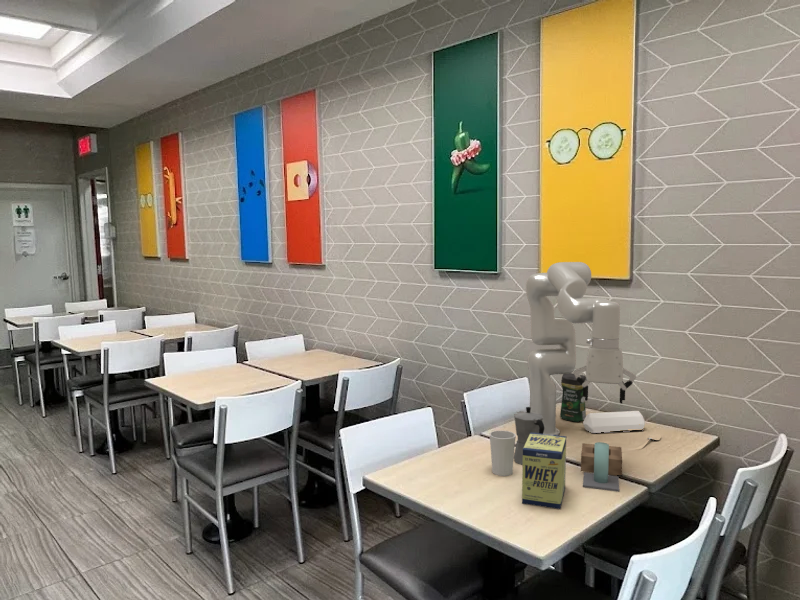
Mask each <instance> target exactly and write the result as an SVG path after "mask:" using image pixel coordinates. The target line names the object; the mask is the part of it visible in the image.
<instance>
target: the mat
mask: <svg viewBox="0 0 800 600" xmlns="http://www.w3.org/2000/svg"><path fill="white" fill-rule="evenodd" d="M619 477H620V476H616V475H608V482H607V483H598V482H595V481H594V473H590V472H583V477H582V480H583V481H582V488H587V489H594V490H595V489H596V490H602V491H603V490H604V491H611V492H612V491H613V492H620V479H619Z"/></svg>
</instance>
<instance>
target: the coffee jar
mask: <svg viewBox="0 0 800 600" xmlns="http://www.w3.org/2000/svg"><path fill="white" fill-rule="evenodd" d="M561 375H562V376H561V382H560V384H561V388H562V397H561V406H560V415H559V417H560V418H561V419H562V420H565V421H570V422H575V423H576V422H577V423H579V421H582V422H583V420H584V419H585V418H586V416H587V411H586V401H585V397H583V387H582V385H581V384H580V383H579V382H578V381H577V379H576V377H575V375H574V373H573V372H572V373H569V374H561ZM580 377H581V378H582V379H583V380H585V379H586V375H583V374H580Z"/></svg>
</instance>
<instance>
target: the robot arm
mask: <svg viewBox="0 0 800 600" xmlns="http://www.w3.org/2000/svg"><path fill="white" fill-rule="evenodd" d="M591 270H592V269H590V267H589V265H588V264H586V263H585V262H582V261H563V262H562V261H560V262H556V263H552V264H551V265H550V266H549V267H548V269H547V272H539V273H533V274H531V275H529V276H528V277H527V279H526V283H525V293H526V297H527V300H528V304H529V308H530V337H531V340H532V343H533V344H534V345H537V346H558V347H559V348H538V349H535V350H531V351H530V352H529V354H528V356H527V366H528V373H529V374H528V375H529V376H528V377H529V407H531V410H530V412H533V413H537V414H541V415H542V417H543V420H542V422H543V424H544V427H545V428H544V433H543V434H550V435H559V436H560V434H561V431H560V429H559V428H557V427H556V425H557V424H556V422H557V421H556V419H557V418H556V417H557V416H556V415H557V413H556V412H557V386H556V384H555V382H554V380H552V378H551V376H553V375H555V376H556V375H563V374H569V373H572V374H574V375H575V377H576V379H577V381H578V382H579V383H580V384H581V385H582V387H583V397H585V402H586V401H588V399H589V384H590V383H594V384H595V383H596V384H610V385H618V386H619V387H620V388H619V403H620V405H621V404H622V405H623V401H625V400H626V390H627V389H628V388H630V387H631V386H632V385H633V383H634V382H635V380H636V378H637V375H636V374H635V373H634V372H631V371H630V370H627V369H626V368H624V357H623V351H622V348H620V325H621V323H620V322H621V321H620V320H621V306H620V304H619V303H618V302H617V301H611V300H609V299H608V298H605V297H589V298H588V297H584V296H585V294H586V292H587V289H588V286H589V284H590V282H591V279H592V271H591ZM549 297H557V298H556V299H557V301H556V302H557V307H558V311H559V313H560V314H561V315H562V316H563V318H560V319H558V318H556V319H555V306H554V304H553V303H552V301H551V299H549ZM574 324H592V328H591V337H590V338H586V344H589V345H590V346H589V347H588V350H587V354H586V355H587V357H586V365H584V366H582V367H579V368H577V369H576V365H577V354H576V353H577V347H576V345H577V344H576V339H577V338H576V330H575V325H574ZM582 373H585V376H586V379H585V380H583V379H582V378H581V377H580V375H581V374H582ZM624 375H626V376H627V377H629V378H628V380H627V381H625V382H624Z"/></svg>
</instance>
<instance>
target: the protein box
mask: <svg viewBox="0 0 800 600" xmlns="http://www.w3.org/2000/svg"><path fill="white" fill-rule="evenodd" d="M566 458H567V436H565V435H560V434H559V435H550V434H541V433H532V432H531V433H530V435H529V437H528V439H527V441H526V443H525V446H524V448H523V465H522V469H521V470H522V474H521V475H522V476H521V478H522V481H521V486H522V489H521V504H523V505H530V506H531V505H532V506H537V507H545V508H550V509H557V510H561V508H562V503H563V499H564V494H565V489H566V474H567V472H566V469H567V468H566V466H567V465H566V464H567V462H566V460H567V459H566Z"/></svg>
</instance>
